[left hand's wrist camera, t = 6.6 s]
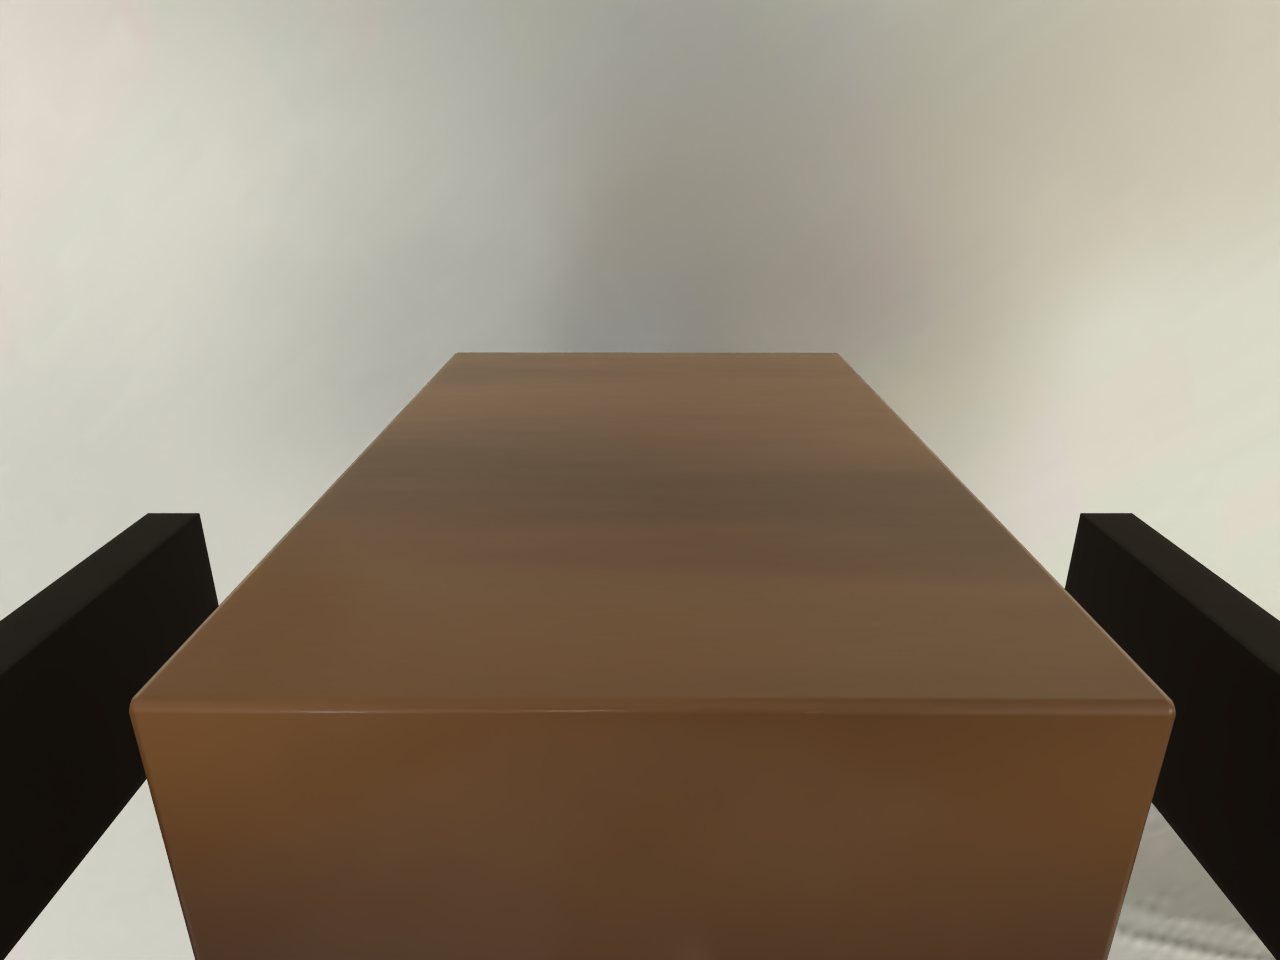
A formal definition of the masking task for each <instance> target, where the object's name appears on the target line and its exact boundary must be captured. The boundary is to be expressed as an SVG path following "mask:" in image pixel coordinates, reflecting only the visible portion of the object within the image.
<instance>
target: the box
mask: <svg viewBox="0 0 1280 960" xmlns="http://www.w3.org/2000/svg"><path fill="white" fill-rule="evenodd" d="M129 714H130V718H131V722H132V725H133V729H134V733H135V737H136V740H137V744H138V748H139V751H140V755H141V759H142V763H143V766H144V770H145V774H146V778H147V781H148V785H149V789H150V792H151V796H152V800H153V804H154V807H155V811H156V815H157V819H158V822H159V826H160V830H161V833H162V837H163V841H164V845H165V848H166V852H167V856H168V860H169V863H170V867H171V871H172V874H173V878H174V882H175V886H176V889H177V893H178V897H179V901H180V904H181V908H182V912H183V915H184V919H185V923H186V927H187V930H188V934H189V938H190V942H191V945H192V949H193V953H194V956H195V960H1107V958H1108V955H1109V951H1110V948H1111V944H1112V940H1113V937H1114V933H1115V930H1116V926H1117V923H1118V919H1119V916H1120V912H1121V908H1122V905H1123V901H1124V898H1125V894H1126V891H1127V887H1128V884H1129V880H1130V876H1131V873H1132V869H1133V866H1134V862H1135V859H1136V855H1137V852H1138V848H1139V844H1140V841H1141V837H1142V834H1143V830H1144V827H1145V823H1146V819H1147V816H1148V812H1149V809H1150V805H1151V802H1152V798H1153V795H1154V791H1155V787H1156V784H1157V780H1158V777H1159V773H1160V770H1161V766H1162V763H1163V759H1164V755H1165V752H1166V748H1167V745H1168V741H1169V738H1170V734H1171V731H1172V727H1173V723H1174V720H1175V716H1176V712H1175V706H1174V704H1173V701H1172V700H1171V699H1170V698H1169V697H1168V696H1167V695H1166V694H1165V693H1164V692H1163V691H1162V690H1161V689H1160V688H1159V687H1158V686H1157V684H1156V683H1155V682H1154V681H1153V680H1152V679H1151V678H1150V677H1149V676H1148V675H1147V674H1146V673H1145V672H1144V671H1143V670H1142V669H1141V668H1140V667H1139V666H1138V665H1137V664H1136V663H1135V662H1134V661H1133V660H1132V659H1131V657H1130V656H1129V655H1128V654H1127V653H1126V652H1125V651H1124V650H1123V649H1122V648H1121V647H1120V646H1119V645H1118V644H1117V643H1116V642H1115V641H1114V640H1113V639H1112V638H1111V637H1110V636H1109V635H1108V634H1107V633H1106V631H1105V630H1104V629H1103V628H1102V627H1101V626H1100V625H1099V624H1098V623H1097V622H1096V621H1095V620H1094V619H1093V618H1092V617H1091V616H1090V615H1089V614H1088V613H1087V612H1086V611H1085V610H1084V609H1083V608H1082V607H1081V606H1080V604H1079V603H1078V602H1077V601H1076V600H1075V599H1074V598H1073V597H1072V596H1071V595H1070V594H1069V593H1068V592H1067V591H1066V590H1065V589H1064V588H1063V587H1062V586H1061V585H1060V584H1059V583H1058V582H1057V581H1056V580H1055V579H1054V577H1053V576H1052V575H1051V574H1050V573H1049V572H1048V571H1047V570H1046V569H1045V568H1044V567H1043V566H1042V565H1041V564H1040V563H1039V562H1038V561H1037V560H1036V559H1035V558H1034V557H1033V556H1032V555H1031V554H1030V553H1029V552H1028V550H1027V549H1026V548H1025V547H1024V546H1023V545H1022V544H1021V543H1020V542H1019V541H1018V540H1017V539H1016V538H1015V537H1014V536H1013V535H1012V534H1011V533H1010V532H1009V531H1008V530H1007V529H1006V528H1005V527H1004V526H1003V524H1002V523H1001V522H1000V521H999V520H998V519H997V518H996V517H995V516H994V515H993V514H992V513H991V512H990V511H989V510H988V509H987V508H986V507H985V506H984V505H983V504H982V503H981V502H980V501H979V500H978V499H977V497H976V496H975V495H974V494H973V493H972V492H971V491H970V490H969V489H968V488H967V487H966V486H965V485H964V484H963V483H962V482H961V481H960V480H959V479H958V478H957V477H956V476H955V475H954V474H953V473H952V472H951V470H950V469H949V468H948V467H947V466H946V465H945V464H944V463H943V462H942V461H941V460H940V459H939V458H938V457H937V456H936V455H935V454H934V453H933V452H932V451H931V450H930V449H929V448H928V447H927V446H926V444H925V443H924V442H923V441H922V440H921V439H920V438H919V437H918V436H917V435H916V434H915V433H914V432H913V431H912V430H911V429H910V428H909V427H908V426H907V425H906V424H905V423H904V422H903V421H902V420H901V419H900V417H899V416H898V415H897V414H896V413H895V412H894V411H893V410H892V409H891V408H890V407H889V406H888V405H887V404H886V403H885V402H884V401H883V400H882V399H881V398H880V397H879V396H878V395H877V394H876V393H875V392H874V390H873V389H872V388H871V387H870V386H869V385H868V384H867V383H866V382H865V381H864V380H863V379H862V378H861V377H860V376H859V375H858V374H857V373H856V372H855V371H854V370H853V369H852V368H851V367H850V366H849V364H848V363H847V362H846V361H845V360H844V359H843V358H842V357H841V356H840V355H839V354H837V353H456V354H455V355H454V356H453V357H452V358H451V359H450V360H449V361H448V362H447V363H446V364H445V365H444V366H443V367H442V368H441V369H440V371H439V372H438V373H437V374H436V375H435V376H434V377H433V378H432V379H431V380H430V381H429V382H428V383H427V384H426V385H425V387H424V388H423V389H422V390H421V391H420V392H419V393H418V394H417V395H416V396H415V397H414V398H413V399H412V400H411V402H410V403H409V404H408V405H407V406H406V407H405V408H404V409H403V410H402V411H401V412H400V413H399V414H398V415H397V416H396V418H395V419H394V420H393V421H392V422H391V423H390V424H389V425H388V426H387V427H386V428H385V429H384V430H383V431H382V432H381V434H380V435H379V436H378V437H377V438H376V439H375V440H374V441H373V442H372V443H371V444H370V445H369V446H368V447H367V448H366V450H365V451H364V452H363V453H362V454H361V455H360V456H359V457H358V458H357V459H356V460H355V461H354V462H353V463H352V464H351V466H350V467H349V468H348V469H347V470H346V471H345V472H344V473H343V474H342V475H341V476H340V477H339V478H338V479H337V480H336V482H335V483H334V484H333V485H332V486H331V487H330V488H329V489H328V490H327V491H326V492H325V493H324V494H323V495H322V496H321V498H320V499H319V500H318V501H317V502H316V503H315V504H314V505H313V506H312V507H311V508H310V509H309V510H308V511H307V512H306V514H305V515H304V516H303V517H302V518H301V519H300V520H299V521H298V522H297V523H296V524H295V525H294V526H293V527H292V528H291V530H290V531H289V532H288V533H287V534H286V535H285V536H284V537H283V538H282V539H281V540H280V541H279V542H278V543H277V544H276V546H275V547H274V548H273V549H272V550H271V551H270V552H269V553H268V554H267V555H266V556H265V557H264V558H263V559H262V560H261V562H260V563H259V564H258V565H257V566H256V567H255V568H254V569H253V570H252V571H251V572H250V573H249V574H248V575H247V576H246V578H245V579H244V580H243V581H242V582H241V583H240V584H239V585H238V586H237V587H236V588H235V589H234V590H233V591H232V592H231V594H230V595H229V596H228V597H227V598H226V599H225V600H224V601H223V602H222V603H221V604H220V605H219V606H218V607H217V609H216V610H215V611H214V612H213V613H212V614H211V615H210V616H209V617H208V618H207V619H206V620H205V621H204V622H203V623H202V625H201V626H200V627H199V628H198V629H197V630H196V631H195V632H194V633H193V634H192V635H191V636H190V637H189V638H188V639H187V641H186V642H185V643H184V644H183V645H182V646H181V647H180V648H179V649H178V650H177V651H176V652H175V653H174V654H173V655H172V657H171V658H170V659H169V660H168V661H167V662H166V663H165V664H164V665H163V666H162V667H161V668H160V669H159V670H158V671H157V673H156V674H155V675H154V676H153V677H152V678H151V679H150V680H149V681H148V682H147V683H146V684H145V685H144V686H143V687H142V689H141V690H140V691H139V692H138V693H137V694H136V695H135V696H134V697H133V698H132V700H131V703H130V708H129Z"/></svg>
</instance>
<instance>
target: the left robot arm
mask: <svg viewBox="0 0 1280 960" xmlns="http://www.w3.org/2000/svg"><path fill="white" fill-rule="evenodd" d="M1065 590H1066V591H1067V592H1068V593H1069V594H1070V595H1071V596H1072V597H1073V598H1074V599H1075V600H1076V601H1077V602H1078V603H1079V604H1080V606H1081V607H1082V608H1083V609H1084V610H1085V611H1086V612H1087V613H1088V614H1089V615H1090V616H1091V617H1092V618H1093V619H1094V620H1095V621H1096V622H1097V623H1098V624H1099V625H1100V626H1101V627H1102V628H1103V629H1104V630H1105V631H1106V633H1107V634H1108V635H1109V636H1110V637H1111V638H1112V639H1113V640H1114V641H1115V642H1116V643H1117V644H1118V645H1119V646H1120V647H1121V648H1122V649H1123V650H1124V651H1125V652H1126V653H1127V654H1128V655H1129V656H1130V657H1131V659H1132V660H1133V661H1134V662H1135V663H1136V664H1137V665H1138V666H1139V667H1140V668H1141V669H1142V670H1143V671H1144V672H1145V673H1146V674H1147V675H1148V676H1149V677H1150V678H1151V679H1152V680H1153V681H1154V682H1155V683H1156V684H1157V686H1158V687H1159V688H1160V689H1161V690H1162V691H1163V692H1164V693H1165V694H1166V695H1167V696H1168V697H1169V698H1170V699H1171V700H1172V701H1173V704H1174V706H1175V712H1176V716H1175V720H1174V723H1173V727H1172V731H1171V734H1170V738H1169V741H1168V745H1167V748H1166V752H1165V755H1164V759H1163V763H1162V766H1161V770H1160V773H1159V777H1158V780H1157V784H1156V787H1155V791H1154V795H1153V798H1152V803H1153V804H1154V806H1155V807H1156V808H1157V809H1158V811H1159V812H1160V813H1161V814H1162V816H1163V817H1164V818H1165V819H1166V821H1167V822H1168V823H1169V824H1170V826H1171V827H1172V828H1173V830H1174V831H1175V832H1176V833H1177V835H1178V836H1179V837H1180V838H1181V840H1182V841H1183V842H1184V843H1185V845H1186V846H1187V847H1188V849H1189V850H1190V851H1191V852H1192V854H1193V855H1194V856H1195V857H1196V859H1197V860H1198V861H1199V862H1200V864H1201V865H1202V866H1203V868H1204V869H1205V870H1206V871H1207V873H1208V874H1209V875H1210V876H1211V878H1212V879H1213V880H1214V881H1215V883H1216V884H1217V885H1218V887H1219V888H1220V889H1221V890H1222V892H1223V893H1224V894H1225V895H1226V897H1227V898H1228V899H1229V900H1230V902H1231V903H1232V904H1233V905H1234V907H1235V908H1236V909H1237V911H1238V912H1239V913H1240V914H1241V916H1242V917H1243V918H1244V919H1245V921H1246V922H1247V923H1248V924H1249V926H1250V927H1251V928H1252V930H1253V931H1254V932H1255V933H1256V935H1257V936H1258V937H1259V938H1260V940H1261V941H1262V942H1263V943H1264V945H1265V946H1266V947H1267V949H1268V950H1269V951H1270V952H1271V954H1272V955H1273V956H1274V957H1275V959H1276V960H1280V621H1279V620H1277V619H1276V618H1275V617H1273V616H1272V615H1271V614H1269V613H1268V612H1267V611H1265V610H1264V609H1262V608H1261V607H1260V606H1258V605H1257V604H1256V603H1254V602H1253V601H1251V600H1250V599H1249V598H1247V597H1246V596H1245V595H1243V594H1242V593H1240V592H1239V591H1238V590H1236V589H1235V588H1234V587H1232V586H1231V585H1230V584H1228V583H1227V582H1225V581H1224V580H1223V579H1221V578H1220V577H1219V576H1217V575H1216V574H1214V573H1213V572H1212V571H1210V570H1209V569H1208V568H1206V567H1205V566H1203V565H1202V564H1201V563H1199V562H1198V561H1197V560H1195V559H1194V558H1193V557H1191V556H1190V555H1188V554H1187V553H1186V552H1184V551H1183V550H1182V549H1180V548H1179V547H1177V546H1176V545H1175V544H1173V543H1172V542H1171V541H1169V540H1168V539H1166V538H1165V537H1164V536H1162V535H1161V534H1160V533H1158V532H1157V531H1156V530H1154V529H1153V528H1151V527H1150V526H1149V525H1147V524H1146V523H1145V522H1143V521H1142V520H1140V519H1139V518H1138V517H1136V516H1135V515H1134V514H1132V513H1081V514H1080V519H1079V523H1078V528H1077V533H1076V538H1075V543H1074V547H1073V552H1072V557H1071V562H1070V567H1069V571H1068V576H1067V581H1066V586H1065ZM218 606H219V605H218V600H217V596H216V591H215V586H214V581H213V576H212V571H211V567H210V562H209V557H208V552H207V547H206V543H205V538H204V533H203V528H202V523H201V519H200V514H199V513H148V514H146V515H145V516H144V517H142V518H141V519H140V520H138V521H137V522H135V523H134V524H133V525H131V526H130V527H129V528H127V529H126V530H124V531H123V532H122V533H120V534H119V535H118V536H116V537H115V538H114V539H112V540H111V541H109V542H108V543H107V544H105V545H104V546H103V547H101V548H100V549H98V550H97V551H96V552H94V553H93V554H92V555H90V556H89V557H87V558H86V559H85V560H83V561H82V562H81V563H79V564H78V565H77V566H75V567H74V568H72V569H71V570H70V571H68V572H67V573H66V574H64V575H63V576H61V577H60V578H59V579H57V580H56V581H55V582H53V583H52V584H50V585H49V586H48V587H46V588H45V589H44V590H42V591H41V592H40V593H38V594H37V595H35V596H34V597H33V598H31V599H30V600H29V601H27V602H26V603H24V604H23V605H22V606H20V607H19V608H18V609H16V610H15V611H13V612H12V613H11V614H9V615H8V616H7V617H5V618H4V619H3V620H1V621H0V960H4V959H5V957H6V956H7V955H8V954H9V952H10V951H11V950H12V949H13V947H14V946H15V945H16V943H17V942H18V941H19V940H20V938H21V937H22V936H23V935H24V933H25V932H26V931H27V930H28V928H29V927H30V926H31V924H32V923H33V922H34V921H35V919H36V918H37V917H38V916H39V914H40V913H41V912H42V911H43V909H44V908H45V907H46V905H47V904H48V903H49V902H50V900H51V899H52V898H53V897H54V895H55V894H56V893H57V892H58V890H59V889H60V888H61V887H62V885H63V884H64V883H65V881H66V880H67V879H68V878H69V876H70V875H71V874H72V873H73V871H74V870H75V869H76V868H77V866H78V865H79V864H80V862H81V861H82V860H83V859H84V857H85V856H86V855H87V854H88V852H89V851H90V850H91V849H92V847H93V846H94V845H95V843H96V842H97V841H98V840H99V838H100V837H101V836H102V835H103V833H104V832H105V831H106V830H107V828H108V827H109V826H110V824H111V823H112V822H113V821H114V819H115V818H116V817H117V816H118V814H119V813H120V812H121V811H122V809H123V808H124V807H125V806H126V804H127V803H128V802H129V800H130V799H131V798H132V797H133V795H134V794H135V793H136V792H137V790H138V789H139V788H140V787H141V785H142V784H143V783H144V781H145V780H146V779H147V778H146V774H145V770H144V766H143V763H142V759H141V755H140V751H139V748H138V744H137V740H136V737H135V733H134V729H133V725H132V722H131V718H130V714H129V708H130V703H131V700H132V698H133V697H134V696H135V695H136V694H137V693H138V692H139V691H140V690H141V689H142V687H143V686H144V685H145V684H146V683H147V682H148V681H149V680H150V679H151V678H152V677H153V676H154V675H155V674H156V673H157V671H158V670H159V669H160V668H161V667H162V666H163V665H164V664H165V663H166V662H167V661H168V660H169V659H170V658H171V657H172V655H173V654H174V653H175V652H176V651H177V650H178V649H179V648H180V647H181V646H182V645H183V644H184V643H185V642H186V641H187V639H188V638H189V637H190V636H191V635H192V634H193V633H194V632H195V631H196V630H197V629H198V628H199V627H200V626H201V625H202V623H203V622H204V621H205V620H206V619H207V618H208V617H209V616H210V615H211V614H212V613H213V612H214V611H215V610H216V609H217V607H218Z"/></svg>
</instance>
